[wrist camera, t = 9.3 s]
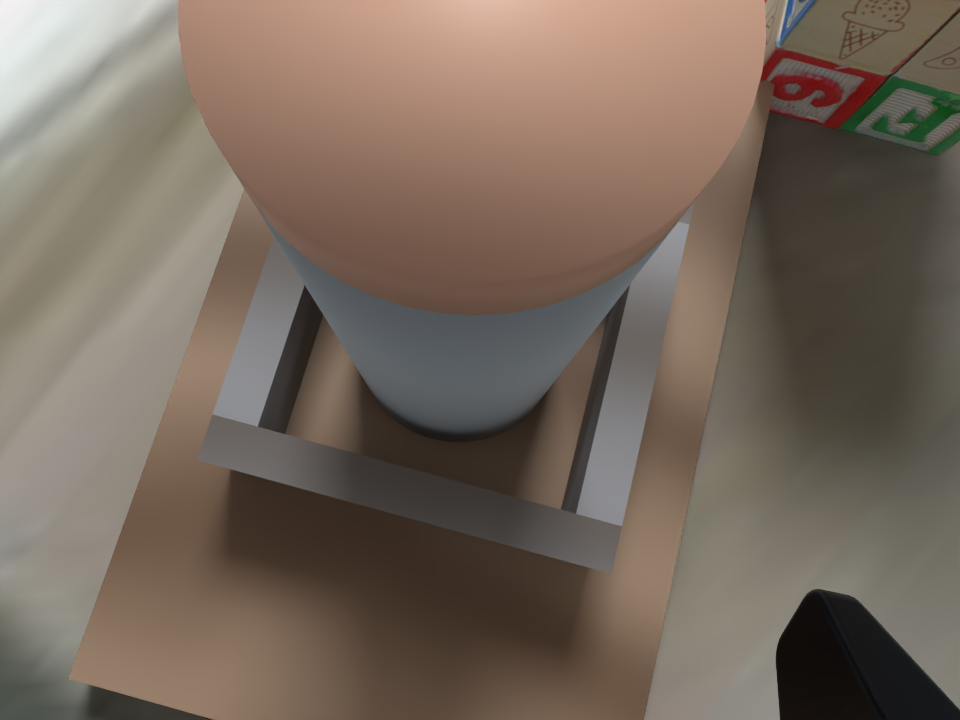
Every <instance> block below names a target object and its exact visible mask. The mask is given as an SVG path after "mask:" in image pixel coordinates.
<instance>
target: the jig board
mask: <svg viewBox="0 0 960 720" xmlns="http://www.w3.org/2000/svg"><path fill="white" fill-rule="evenodd" d="M774 87H775V84H773V83H771V82H770V81H767V80H765V81H760V82H759V86H758V90H757V93H756V97H755V101H754V105H753V107H752V109H751V112H750V114H749V116H748V118H747V121H746V123H745V125H744V128H743V130H742V132H741V134H740V137H739V138H738V140H737V142H736V143H735V145H734V146H733V148H732V150H731V151H730V153H729V154H728V156H727V158H726V159H725V161H724V162H723V164H722V166H721V167H720V169H719V170H718V171H717V172H716V174H715V175H714V176H713V178H712V179H711V180H710V182H709V183H708V184H707V185H706V187H705V188H704V189H703V191H702V192H701V193H700V194H699V196H698V197H697V198H696V200H695V201H694V202H693V204H692V205H691V206H690V207H689V209H688V210H687V211H686V213H685V214H684V215H683V216H682V218H681V219H680V220H679V222H678V223H677V224H676V226H675V227H674V228H673V229H672V231H671V232H670V233H669V235H668V236H667V237H666V238H665V240H664V241H663V242H662V244H661V245H660V246H659V247H658V249H657V250H656V251H655V253H654V254H653V255H652V257H651V258H650V259H649V260H648V262H647V263H646V264H645V266H644V267H643V268H642V269H641V271H640V272H639V273H638V275H637V276H636V277H635V279H634V280H633V281H632V282H631V284H630V285H629V286H628V288H627V289H626V290H625V291H624V293H623V294H622V295H621V297H620V298H619V299H618V301H617V302H616V303H615V304H614V306H613V307H612V308H611V310H610V311H609V312H608V313H607V315H606V316H605V317H604V319H603V320H602V321H601V323H600V324H599V325H598V326H597V328H596V329H595V330H594V332H593V333H592V334H591V335H590V337H589V338H588V339H587V341H586V342H585V343H584V345H583V346H582V347H581V348H580V350H579V351H578V352H577V354H576V355H575V356H574V357H573V359H572V360H571V361H570V363H569V364H568V365H567V367H566V368H565V369H564V370H563V372H562V373H561V374H560V376H559V377H558V378H557V379H556V381H555V382H554V383H553V385H552V386H551V387H550V389H549V390H548V391H547V392H546V394H545V395H544V396H543V398H542V399H541V400H540V401H539V403H538V404H537V405H536V406H535V407H534V409H533V410H532V411H531V412H530V413H529V414H528V415H527V416H526V417H525V418H524V419H522V420H521V421H520V422H519V423H517V424H516V425H514V426H513V427H511V428H510V429H508V430H506V431H504V432H502V433H500V434H498V435H495V436H492V437H489V438H487V439H482V440H478V441H472V442H445V441H440V440H435V439H431V438H428V437H425V436H422V435H420V434H417V433H415V432H413V431H411V430H409V429H408V428H406V427H405V426H403V425H401V424H400V423H398V422H397V421H396V420H395V419H394V418H393V417H391V416H390V415H389V414H388V413H387V412H386V411H385V410H384V408H383V407H382V406H381V405H380V404H379V402H378V401H377V399H376V398H375V396H374V395H373V393H372V392H371V390H370V389H369V387H368V385H367V384H366V382H365V381H364V379H363V377H362V376H361V374H360V373H359V371H358V369H357V368H356V366H355V365H354V363H353V361H352V360H351V358H350V357H349V355H348V353H347V352H346V350H345V349H344V347H343V345H342V344H341V342H340V341H339V339H338V337H337V336H336V334H335V333H334V331H333V329H332V328H331V326H330V325H329V323H328V321H327V320H326V318H325V317H324V315H323V313H322V312H321V310H320V309H319V307H318V306H317V304H316V302H315V301H314V299H313V298H312V296H311V294H310V293H309V291H308V290H307V288H306V286H305V285H304V283H303V282H302V280H301V278H300V277H299V275H298V274H297V272H296V270H295V269H294V267H293V266H292V264H291V262H290V261H289V259H288V258H287V256H286V254H285V253H284V251H283V250H282V248H281V246H280V245H279V243H278V242H277V240H276V238H275V237H274V235H273V234H272V232H271V230H270V229H269V227H268V226H267V224H266V222H265V221H264V219H263V218H262V216H261V214H260V213H259V211H258V210H257V208H256V206H255V205H254V203H253V202H252V200H251V198H250V197H249V195H248V194H247V192H246V190H245V189H244V191H243V194H242V197H241V200H240V202H239V205H238V208H237V211H236V214H235V216H234V219H233V222H232V225H231V227H230V230H229V233H228V236H227V239H226V241H225V244H224V247H223V250H222V253H221V255H220V258H219V261H218V264H217V266H216V269H215V272H214V275H213V278H212V280H211V283H210V286H209V289H208V291H207V294H206V297H205V300H204V303H203V305H202V308H201V311H200V314H199V317H198V319H197V322H196V325H195V328H194V330H193V333H192V336H191V339H190V342H189V344H188V347H187V350H186V353H185V355H184V358H183V361H182V364H181V367H180V369H179V372H178V375H177V378H176V381H175V383H174V386H173V389H172V392H171V394H170V397H169V400H168V403H167V406H166V408H165V411H164V414H163V417H162V419H161V422H160V425H159V428H158V431H157V433H156V436H155V439H154V442H153V444H152V447H151V450H150V453H149V456H148V458H147V461H146V464H145V467H144V470H143V472H142V475H141V478H140V481H139V483H138V486H137V489H136V492H135V495H134V497H133V500H132V503H131V506H130V508H129V511H128V514H127V517H126V520H125V522H124V525H123V528H122V531H121V534H120V536H119V539H118V542H117V545H116V547H115V550H114V553H113V556H112V559H111V561H110V564H109V567H108V570H107V572H106V575H105V578H104V581H103V584H102V586H101V589H100V592H99V595H98V598H97V600H96V603H95V606H94V609H93V611H92V614H91V617H90V620H89V623H88V625H87V628H86V631H85V634H84V636H83V639H82V642H81V645H80V648H79V650H78V653H77V656H76V659H75V662H74V664H73V667H72V670H71V673H70V675H69V678H68V679H71V680H75V681H78V682H82V683H86V684H89V685H93V686H96V687H100V688H103V689H107V690H110V691H114V692H117V693H121V694H125V695H128V696H132V697H135V698H139V699H142V700H146V701H149V702H153V703H156V704H160V705H164V706H167V707H171V708H174V709H178V710H181V711H185V712H188V713H192V714H195V715H199V716H203V717H206V718H210V719H213V720H644V716H645V711H646V706H647V701H648V696H649V691H650V687H651V682H652V677H653V672H654V667H655V662H656V658H657V653H658V648H659V643H660V638H661V633H662V629H663V624H664V619H665V614H666V609H667V604H668V599H669V595H670V590H671V585H672V580H673V575H674V570H675V566H676V561H677V556H678V551H679V546H680V541H681V537H682V532H683V527H684V522H685V517H686V512H687V508H688V503H689V498H690V493H691V488H692V483H693V479H694V474H695V469H696V464H697V459H698V454H699V450H700V445H701V440H702V435H703V430H704V425H705V420H706V416H707V411H708V406H709V401H710V396H711V391H712V387H713V382H714V377H715V372H716V367H717V362H718V358H719V353H720V348H721V343H722V338H723V333H724V329H725V324H726V319H727V314H728V309H729V304H730V300H731V295H732V290H733V285H734V280H735V275H736V271H737V266H738V261H739V256H740V251H741V246H742V241H743V237H744V232H745V227H746V222H747V217H748V212H749V208H750V203H751V198H752V193H753V188H754V183H755V179H756V174H757V169H758V164H759V159H760V154H761V150H762V145H763V140H764V135H765V130H766V125H767V121H768V116H769V111H770V106H771V101H772V96H773V92H774Z"/></svg>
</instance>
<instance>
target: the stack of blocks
mask: <svg viewBox="0 0 960 720" xmlns="http://www.w3.org/2000/svg"><path fill="white" fill-rule="evenodd" d="M764 1H765V15H766V44H765V53H764V62H763V70H762V75H761V79H760V81H765V80H767V81H770V82H771V83H773V84H775V87H774V92H773V96H772V101H771V106H770V111H771V112H774V113H778V114H782V115H786V116H791V117H794V118H797V119H801V120H805V121H809V122H814V123H817V124H820V125H824V126H827V127H830V128H838V129H843V130H847V131H852V132H856V133H859V134H863V135H867V136H871V137H875V138H878V139H882V140H886V141H889V142H893V143H897V144H900V145H904V146H907V147H911V148H915V149H919V150H922V151H926V152H929V153H932V154H934V155H939V154H941V153H942V152H944V151H945V150H946V149H948V148H949V147H951V146H953V145H954V144H955V143H957V142H958V141H960V0H764Z"/></svg>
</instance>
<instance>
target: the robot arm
mask: <svg viewBox="0 0 960 720" xmlns="http://www.w3.org/2000/svg"><path fill="white" fill-rule="evenodd" d="M776 669H777V683H778V697H779V711H780V720H960V710H959V708H958V707H957V706H956V705H955V704H954V703H953V702H952V701H951V700H950V699H949V698H948V697H947V695H946V694H945V693H944V692H943V691H942V690H941V689H940V688H939V687H938V686H937V685H936V684H935V683H934V681H933V680H932V679H931V678H930V677H929V676H928V675H927V674H926V673H925V672H924V671H923V670H922V668H921V667H920V666H919V665H918V664H917V663H916V662H915V661H914V660H913V659H912V658H911V657H910V656H909V654H908V653H907V652H906V651H905V650H904V649H903V648H902V647H901V646H900V645H899V644H898V643H897V641H896V640H895V639H894V638H893V637H892V636H891V635H890V634H889V633H888V632H887V631H886V630H885V628H884V627H883V626H882V625H881V624H880V623H879V622H878V621H877V620H876V619H875V618H874V617H873V616H872V614H871V613H870V612H869V611H868V610H867V609H866V608H865V607H864V606H863V605H862V604H861V603H860V602H859V601H858V600H857V599H855V598H854V597H851V596H849V595H845V594H840V593H836V592H831V591H826V590H821V589H814V590H812V591H810V592H809V593H807V595H806V596H805V597H804V599H803V600H802V602H801V604H800V605H799V607H798V609H797V610H796V612H795V613H794V615H793V617H792V618H791V620H790V622H789V623H788V625H787V627H786V628H785V630H784V632H783V633H782V635H781V637H780V639H779V642H778V645H777V651H776Z"/></svg>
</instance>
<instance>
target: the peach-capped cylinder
mask: <svg viewBox="0 0 960 720" xmlns="http://www.w3.org/2000/svg"><path fill="white" fill-rule="evenodd" d="M179 38H180V44H181V51H182V57H183V64H184V69H185V72H186V75H187V78H188V82H189V85H190V88H191V91H192V94H193V98H194V101H195V103H196V105H197V107H198V109H199V111H200V114H201V116H202V118H203V120H204V122H205V124H206V126H207V128H208V130H209V132H210V134H211V136H212V138H213V139H214V141H215V142H216V144H217V146H218V147H219V149H220V150H221V152H222V154H223V155H224V157H225V158H226V160H227V162H228V163H229V165H230V166H231V168H232V170H233V171H234V173H235V174H236V176H237V178H238V179H239V181H240V182H241V184H242V186H243V187H244V189H245V190H246V192H247V194H248V195H249V197H250V198H251V200H252V202H253V203H254V205H255V206H256V208H257V210H258V211H259V213H260V214H261V216H262V218H263V219H264V221H265V222H266V224H267V226H268V227H269V229H270V230H271V232H272V234H273V235H274V237H275V238H276V240H277V242H278V243H279V245H280V246H281V248H282V250H283V251H284V253H285V254H286V256H287V258H288V259H289V261H290V262H291V264H292V266H293V267H294V269H295V270H296V272H297V274H298V275H299V277H300V278H301V280H302V282H303V283H304V285H305V286H306V288H307V290H308V291H309V293H310V294H311V296H312V298H313V299H314V301H315V302H316V304H317V306H318V307H319V309H320V310H321V312H322V313H323V315H324V317H325V318H326V320H327V321H328V323H329V325H330V326H331V328H332V329H333V331H334V333H335V334H336V336H337V337H338V339H339V341H340V342H341V344H342V345H343V347H344V349H345V350H346V352H347V353H348V355H349V357H350V358H351V360H352V361H353V363H354V365H355V366H356V368H357V369H358V371H359V373H360V374H361V376H362V377H363V379H364V381H365V382H366V384H367V385H368V387H369V389H370V390H371V392H372V393H373V395H374V396H375V398H376V399H377V401H378V402H379V404H380V405H381V406H382V407H383V408H384V410H385V411H386V412H387V413H388V414H389V415H390V416H391V417H393V418H394V419H395V420H396V421H397V422H398V423H400V424H401V425H403V426H405V427H406V428H408V429H409V430H411V431H413V432H415V433H417V434H420V435H422V436H425V437H428V438H431V439H435V440H440V441H445V442H472V441H478V440H482V439H487V438H489V437H492V436H495V435H498V434H500V433H502V432H504V431H506V430H508V429H510V428H511V427H513V426H514V425H516V424H517V423H519V422H520V421H521V420H522V419H524V418H525V417H526V416H527V415H528V414H529V413H530V412H531V411H532V410H533V409H534V407H535V406H536V405H537V404H538V403H539V401H540V400H541V399H542V398H543V396H544V395H545V394H546V392H547V391H548V390H549V389H550V387H551V386H552V385H553V383H554V382H555V381H556V379H557V378H558V377H559V376H560V374H561V373H562V372H563V370H564V369H565V368H566V367H567V365H568V364H569V363H570V361H571V360H572V359H573V357H574V356H575V355H576V354H577V352H578V351H579V350H580V348H581V347H582V346H583V345H584V343H585V342H586V341H587V339H588V338H589V337H590V335H591V334H592V333H593V332H594V330H595V329H596V328H597V326H598V325H599V324H600V323H601V321H602V320H603V319H604V317H605V316H606V315H607V313H608V312H609V311H610V310H611V308H612V307H613V306H614V304H615V303H616V302H617V301H618V299H619V298H620V297H621V295H622V294H623V293H624V291H625V290H626V289H627V288H628V286H629V285H630V284H631V282H632V281H633V280H634V279H635V277H636V276H637V275H638V273H639V272H640V271H641V269H642V268H643V267H644V266H645V264H646V263H647V262H648V260H649V259H650V258H651V257H652V255H653V254H654V253H655V251H656V250H657V249H658V247H659V246H660V245H661V244H662V242H663V241H664V240H665V238H666V237H667V236H668V235H669V233H670V232H671V231H672V229H673V228H674V227H675V226H676V224H677V223H678V222H679V220H680V219H681V218H682V216H683V215H684V214H685V213H686V211H687V210H688V209H689V207H690V206H691V205H692V204H693V202H694V201H695V200H696V198H697V197H698V196H699V194H700V193H701V192H702V191H703V189H704V188H705V187H706V185H707V184H708V183H709V182H710V180H711V179H712V178H713V176H714V175H715V174H716V172H717V171H718V170H719V169H720V167H721V166H722V164H723V162H724V161H725V159H726V158H727V156H728V154H729V153H730V151H731V150H732V148H733V146H734V145H735V143H736V142H737V140H738V138H739V137H740V134H741V132H742V130H743V128H744V125H745V123H746V121H747V118H748V116H749V114H750V112H751V109H752V107H753V105H754V101H755V97H756V93H757V90H758V86H759V82H760V79H761V75H762V70H763V62H764V53H765V44H766V15H765V1H764V0H179Z"/></svg>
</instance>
